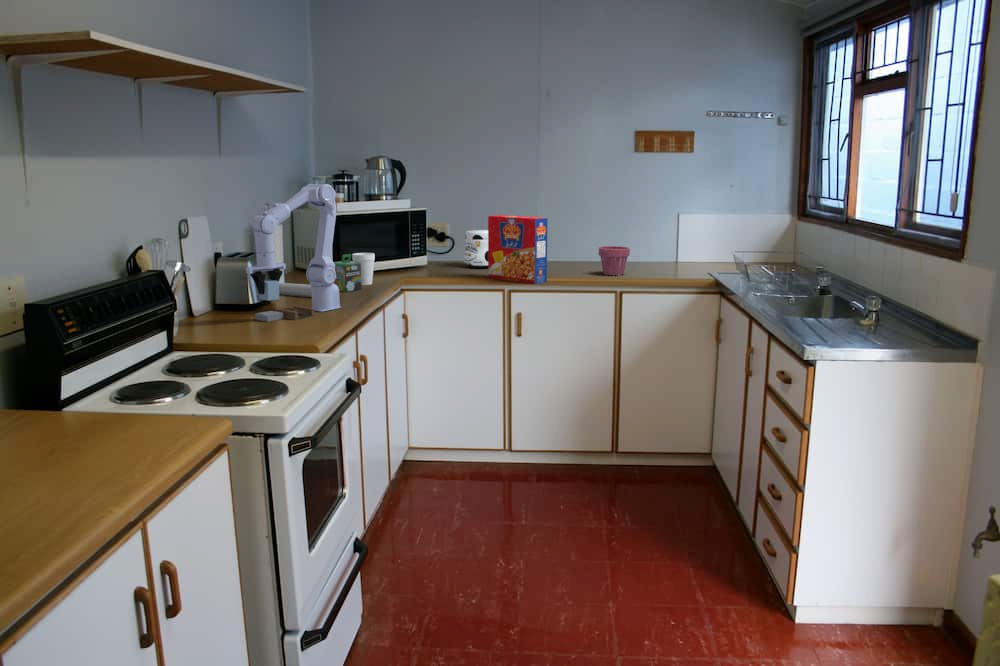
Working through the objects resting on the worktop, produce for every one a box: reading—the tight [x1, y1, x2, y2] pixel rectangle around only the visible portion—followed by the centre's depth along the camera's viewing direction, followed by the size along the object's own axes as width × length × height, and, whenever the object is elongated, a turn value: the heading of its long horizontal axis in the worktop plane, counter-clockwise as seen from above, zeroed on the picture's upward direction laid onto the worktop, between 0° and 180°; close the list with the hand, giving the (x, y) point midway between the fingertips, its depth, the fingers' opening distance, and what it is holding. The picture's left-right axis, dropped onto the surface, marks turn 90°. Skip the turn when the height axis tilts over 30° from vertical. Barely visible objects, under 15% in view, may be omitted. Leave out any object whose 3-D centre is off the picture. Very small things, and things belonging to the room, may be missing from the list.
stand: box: [254, 310, 284, 323], centre depth 266 cm, size 6×6×2 cm
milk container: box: [463, 229, 488, 269], centre depth 395 cm, size 17×17×18 cm
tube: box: [279, 282, 312, 298], centre depth 312 cm, size 5×5×25 cm
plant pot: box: [598, 245, 631, 276], centre depth 368 cm, size 14×14×13 cm
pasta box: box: [487, 214, 548, 285], centre depth 351 cm, size 28×8×28 cm, turn 46°
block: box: [258, 279, 280, 301], centre depth 264 cm, size 4×4×6 cm
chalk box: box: [333, 253, 363, 293], centre depth 325 cm, size 9×9×15 cm
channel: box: [275, 305, 316, 320], centre depth 271 cm, size 8×10×2 cm
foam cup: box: [351, 252, 376, 286], centre depth 342 cm, size 10×9×13 cm
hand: (267, 292), depth 264 cm, fingers closed on block, 4 cm apart
